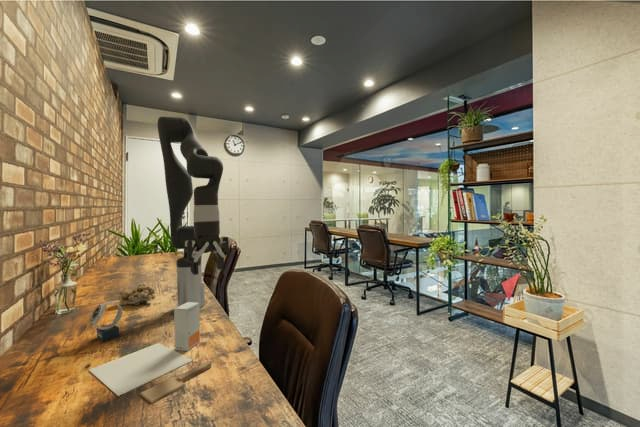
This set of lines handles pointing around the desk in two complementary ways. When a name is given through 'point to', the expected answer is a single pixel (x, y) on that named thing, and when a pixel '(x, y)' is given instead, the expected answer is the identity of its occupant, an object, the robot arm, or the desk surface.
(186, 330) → the skincare box
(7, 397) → the desk surface
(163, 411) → the desk surface
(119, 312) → the watch
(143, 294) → the mineral formation
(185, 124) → the robot arm
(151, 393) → the wooden turner
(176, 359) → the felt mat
